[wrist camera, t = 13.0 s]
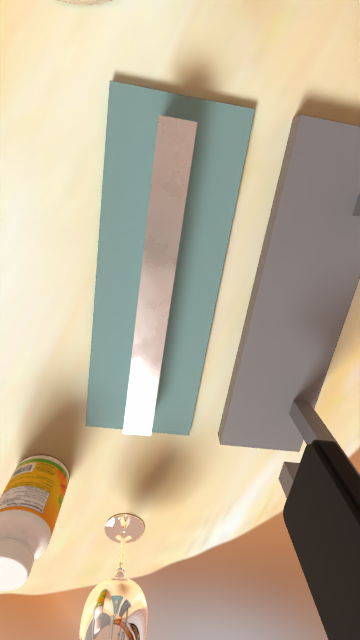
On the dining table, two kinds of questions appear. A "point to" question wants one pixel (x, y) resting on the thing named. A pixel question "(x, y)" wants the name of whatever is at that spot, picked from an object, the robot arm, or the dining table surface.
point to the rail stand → (298, 294)
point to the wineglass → (117, 593)
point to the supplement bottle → (29, 516)
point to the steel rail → (158, 267)
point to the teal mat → (193, 255)
